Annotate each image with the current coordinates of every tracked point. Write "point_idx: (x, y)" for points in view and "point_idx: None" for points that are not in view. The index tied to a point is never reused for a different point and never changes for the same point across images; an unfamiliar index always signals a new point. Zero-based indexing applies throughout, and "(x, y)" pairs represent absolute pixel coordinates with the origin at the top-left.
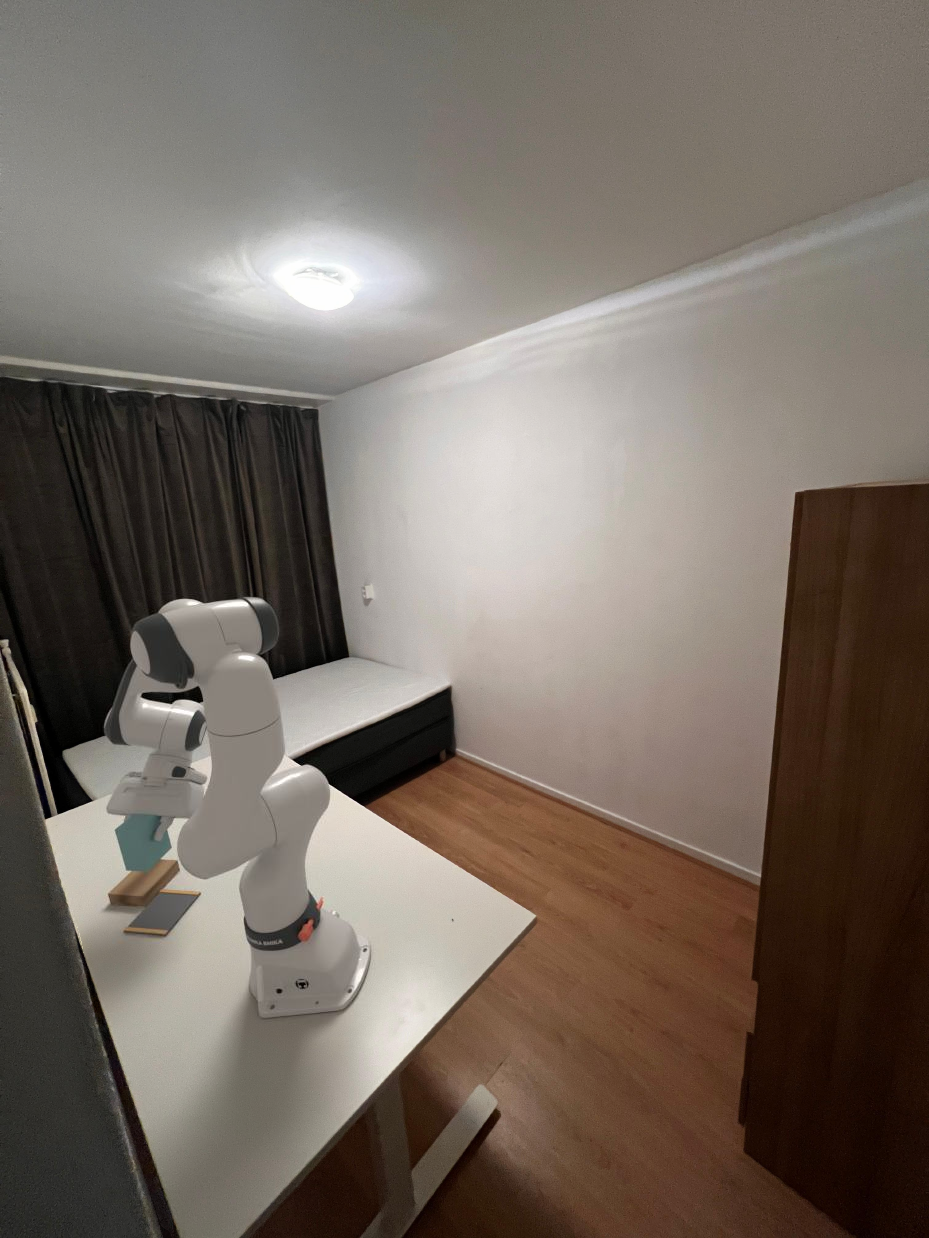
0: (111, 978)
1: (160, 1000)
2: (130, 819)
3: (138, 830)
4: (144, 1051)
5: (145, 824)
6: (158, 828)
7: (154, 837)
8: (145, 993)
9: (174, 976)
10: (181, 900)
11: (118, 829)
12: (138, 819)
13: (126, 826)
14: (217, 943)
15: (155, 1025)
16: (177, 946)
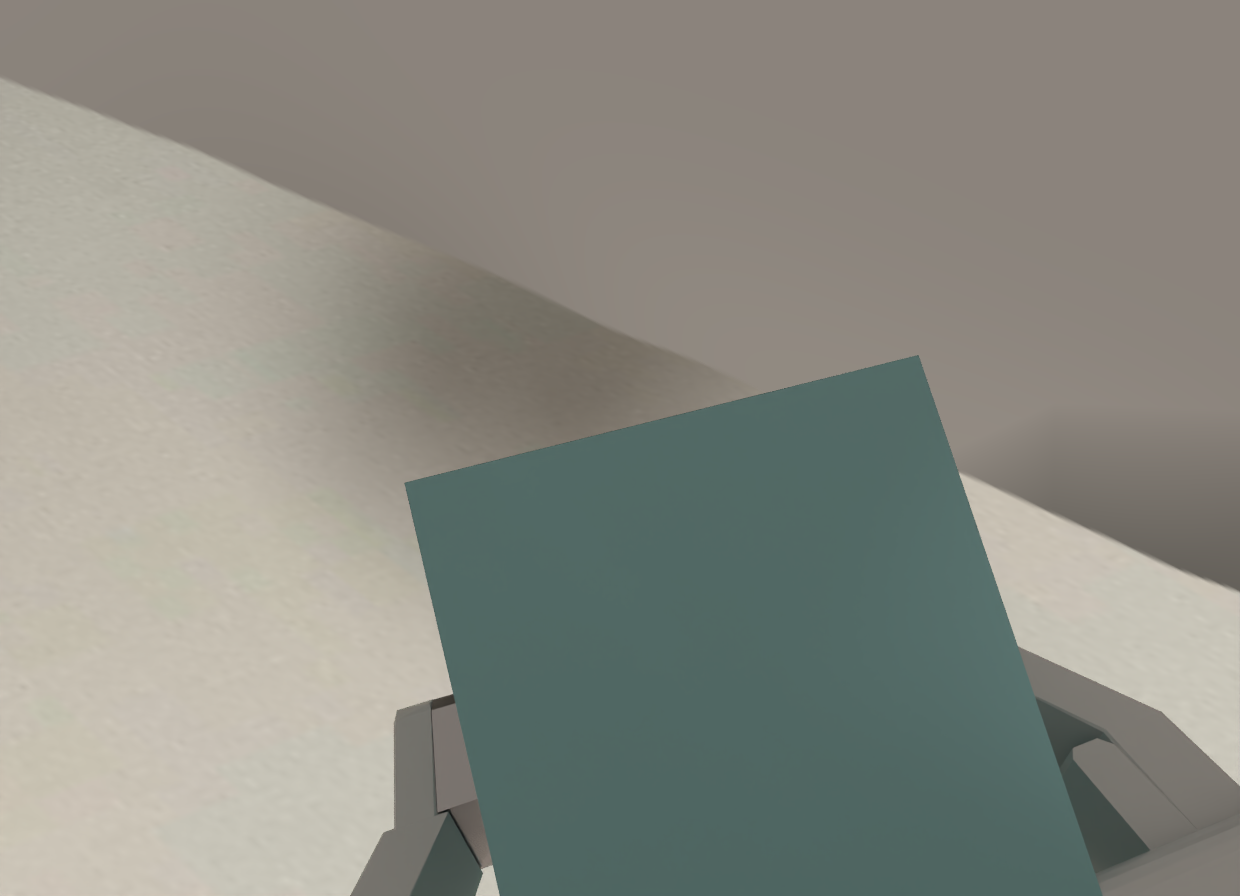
0: (479, 295)
1: (174, 293)
2: (958, 706)
3: (419, 535)
4: (55, 146)
5: (473, 746)
6: (414, 863)
7: (428, 720)
8: (269, 294)
9: (210, 384)
10: None
11: (853, 388)
12: (785, 786)
13: (794, 512)
14: (142, 572)
15: (100, 220)
16: (334, 491)
